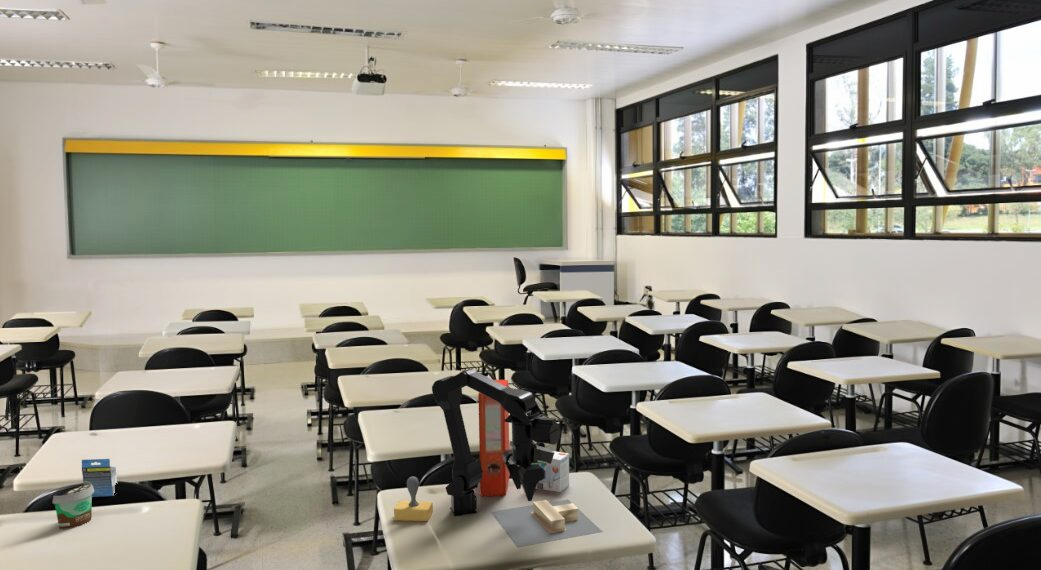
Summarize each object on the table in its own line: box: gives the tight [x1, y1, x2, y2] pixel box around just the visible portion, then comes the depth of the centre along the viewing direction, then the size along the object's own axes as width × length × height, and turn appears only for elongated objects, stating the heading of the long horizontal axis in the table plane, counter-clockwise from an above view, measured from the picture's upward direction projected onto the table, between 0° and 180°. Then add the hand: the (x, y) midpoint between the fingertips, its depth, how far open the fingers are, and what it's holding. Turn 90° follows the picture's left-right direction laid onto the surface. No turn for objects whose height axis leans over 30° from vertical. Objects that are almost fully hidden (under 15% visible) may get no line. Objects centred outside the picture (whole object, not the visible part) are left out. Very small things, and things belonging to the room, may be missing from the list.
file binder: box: [477, 379, 511, 498], centre depth 236 cm, size 8×17×32 cm, turn 177°
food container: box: [52, 481, 94, 530], centre depth 217 cm, size 12×6×10 cm, turn 168°
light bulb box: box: [531, 450, 570, 493], centre depth 235 cm, size 11×7×11 cm, turn 62°
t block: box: [532, 499, 579, 532], centre depth 210 cm, size 10×14×3 cm
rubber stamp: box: [393, 476, 434, 522], centre depth 215 cm, size 10×6×12 cm, turn 83°
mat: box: [490, 498, 603, 548], centre depth 209 cm, size 24×24×1 cm
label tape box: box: [81, 458, 118, 498], centre depth 237 cm, size 9×4×12 cm, turn 94°
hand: (524, 494), depth 206 cm, fingers open, 9 cm apart
